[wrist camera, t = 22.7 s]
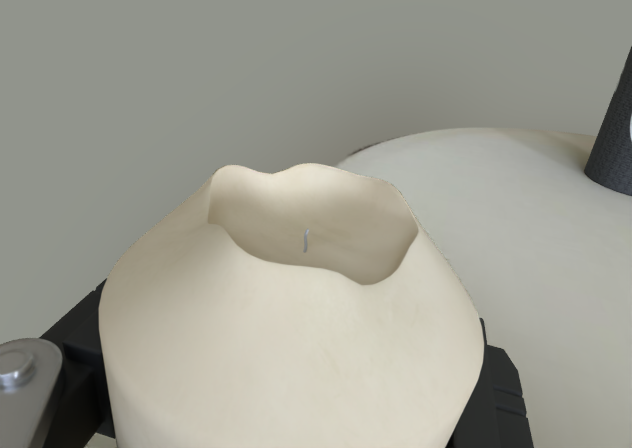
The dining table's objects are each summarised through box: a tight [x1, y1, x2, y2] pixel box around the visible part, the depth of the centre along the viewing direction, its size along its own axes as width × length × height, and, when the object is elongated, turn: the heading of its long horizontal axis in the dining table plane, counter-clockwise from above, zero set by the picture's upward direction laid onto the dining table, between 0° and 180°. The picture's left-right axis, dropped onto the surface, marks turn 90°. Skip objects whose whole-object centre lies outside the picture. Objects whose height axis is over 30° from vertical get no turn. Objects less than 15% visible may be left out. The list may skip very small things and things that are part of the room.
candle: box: [99, 163, 484, 448], centre depth 8 cm, size 6×6×10 cm
